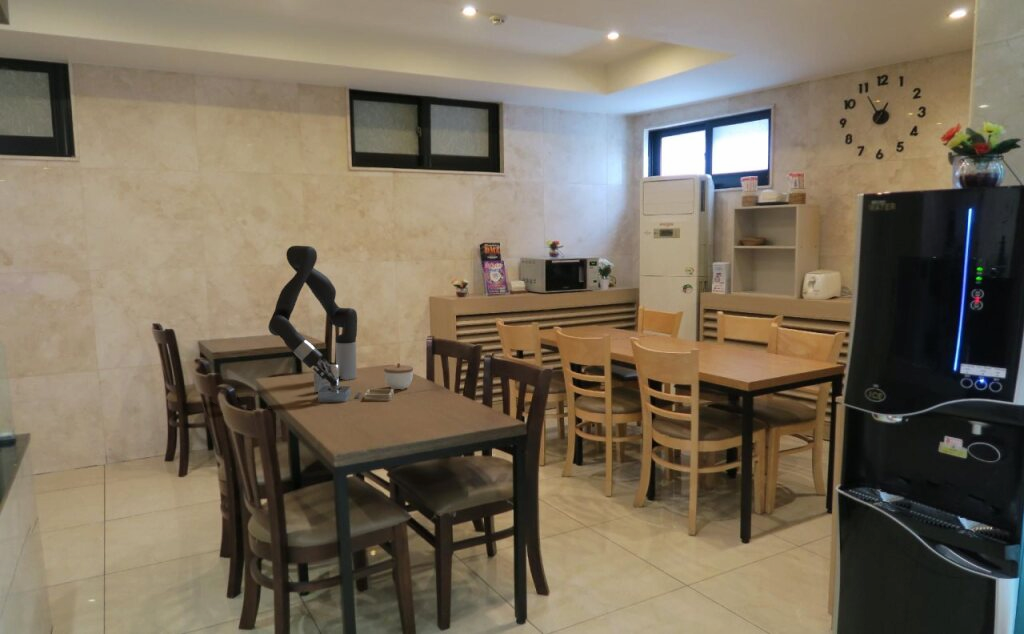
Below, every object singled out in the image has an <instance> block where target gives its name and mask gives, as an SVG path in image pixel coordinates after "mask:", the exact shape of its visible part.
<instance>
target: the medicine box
mask: <svg viewBox="0 0 1024 634" xmlns="http://www.w3.org/2000/svg"><path fill="white" fill-rule="evenodd" d="M313 386H314V388H313V389H314V391H313V392H314V393H316V392H319V391H320V390H321V389H322V388H323V387H324V386H330V382H329V381H328V380H327V379H322V378H321V377H320V376H319V375H318V374H317V373H316V372H314V373H313Z"/></svg>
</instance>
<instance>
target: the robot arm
mask: <svg viewBox="0 0 1024 634" xmlns="http://www.w3.org/2000/svg"><path fill="white" fill-rule="evenodd" d="M317 253H318V252H317V250H316V249H315V248H314V247H313V246H310V245H291V246H290V247H288V249H287V250H286V260H287V263H288V264H289V266H290V267H291V268H292V269H293V270H294V271H295V272H296V273H295V274H294V276H293V277H292V278H291V279H290V280H289V281H288V282H287V283H286V284H285V285H284V286H283V288H282V290H281V291H280V293H279V295H278V298H277V302H276V304H275V309H274V311H273V314H272V316H271V318H270V320H269V323H268V327H267V328H268V330H269V333H270V334H271V335H272V336H273V335H274V336H276V337H277V336H278V337H280V338H281V339H282V340H283V342H284V344H285V346H287V347H288V349H290V351H292V352H293V353H294V355H295V356H296V357H297V358H298V359H299V360H300V361H301V362H303V364H304V365H305V366H306V367H307V368H309V369H311V368H312V370H313V371H314V373H317V374H318V375H319V376H320V377H321V378H322V379H327V380H328V381H329V382H330V383H331V384H332V385H334V384H335V383H336V382H337V381H336V380H335V379H334V378H333V377H332V376H331V375H330V371H329V365H332V364H331V363H330V362H328V360H327V359H326V358H323V356H324V355H323V353H321V351H320V350H319V349H317V348H316V346H315V345H313V343H311V342H310V341H308V340H307V339H306V338H305V337H304V336H303V335H302V334H300V333H299V331H297V329H296V328H295V327H294V325H293V324H292V323H291V322H290V318H291V315H292V313H293V311H294V309H295V306H296V304H297V301H298V297H299V295H300V293H301V291H302V289H303V288H304V285H305V284H306V286H307V287H308V288H309V290H310V291H311V292H312V294H313V295H314V296H315V298H316V299H317V301H318V302H319V304H320V305H321V306H322V308H323V309H324V311H325V314H326V315H327V316H328V318H329V320H330V322H331V324H332V325H333V326H334V327H336V328H343V329H344V332H342V333H341V334H338V335H336V337H335V362H336V364H337V365H338V367H339V379H343V380H342V381H345V380H346V381H349V379H350V380H355V379H357V378H356V377H357V334H358V313H357V311H356V309H354V308H352V307H351V308H350V307H349V308H348V307H340V306H339V305H338V304H337V302H336V301H335V300H336V296H337V291H336V290H337V289H336V288H335V286H334V284H333V283H332V282H331V281H332V280H330V279H329V278H328V276H326V275H325V274H324V273H322V272H321V271H319V270H317V268H315V265H316V263H317V259H318V255H317ZM322 358H323V359H322Z"/></svg>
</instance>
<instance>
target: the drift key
mask: <svg viewBox="0 0 1024 634" xmlns="http://www.w3.org/2000/svg"><path fill="white" fill-rule="evenodd" d="M362 394H363V393H362V392H357V394H355V396H354V398H355V399H360V398H361V396H362Z"/></svg>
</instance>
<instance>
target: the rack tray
mask: <svg viewBox="0 0 1024 634" xmlns="http://www.w3.org/2000/svg"><path fill="white" fill-rule="evenodd" d="M394 390H395V389H391V388H371V389H370V388H369V389H367V390H366V392H365V393H364V394H363V396H364V399H363V401H364V402H381V401H382V402H385V401H387V402H390V401H391V400H392V399H393V397H394V395H395V394H394Z"/></svg>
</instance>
